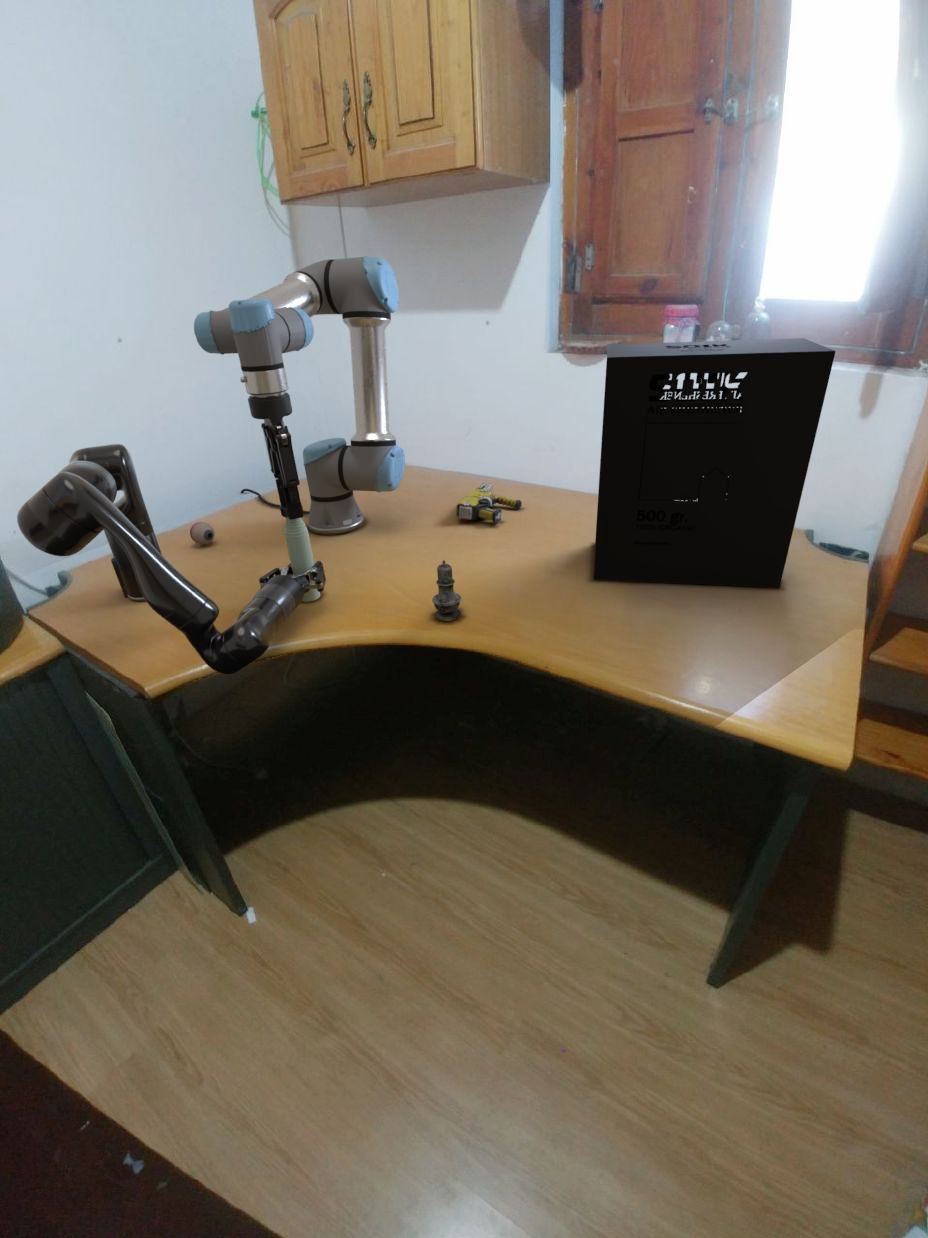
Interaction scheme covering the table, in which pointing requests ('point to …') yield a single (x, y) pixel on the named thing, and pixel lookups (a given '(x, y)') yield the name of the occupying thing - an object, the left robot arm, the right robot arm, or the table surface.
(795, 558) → the table surface
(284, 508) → the cap
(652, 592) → the table surface
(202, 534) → the eyeball
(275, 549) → the table surface
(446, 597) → the salt shaker
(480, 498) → the toy gun
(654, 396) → the cardboard box
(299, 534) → the bottle
